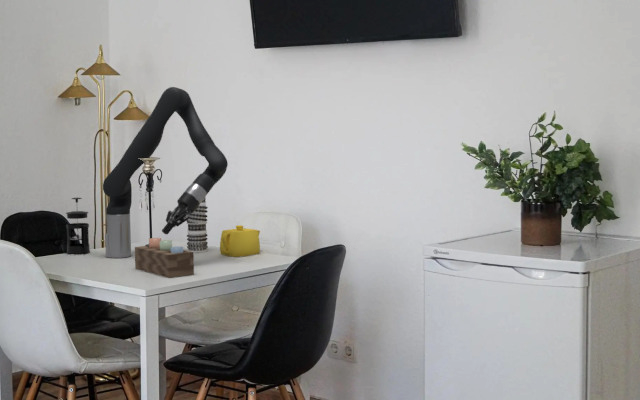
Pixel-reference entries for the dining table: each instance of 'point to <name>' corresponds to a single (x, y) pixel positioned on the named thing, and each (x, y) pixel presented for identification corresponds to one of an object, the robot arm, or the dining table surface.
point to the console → (164, 262)
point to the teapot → (239, 242)
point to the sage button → (165, 245)
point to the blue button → (176, 249)
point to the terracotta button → (154, 242)
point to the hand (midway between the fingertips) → (164, 232)
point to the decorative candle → (197, 229)
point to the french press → (73, 247)
